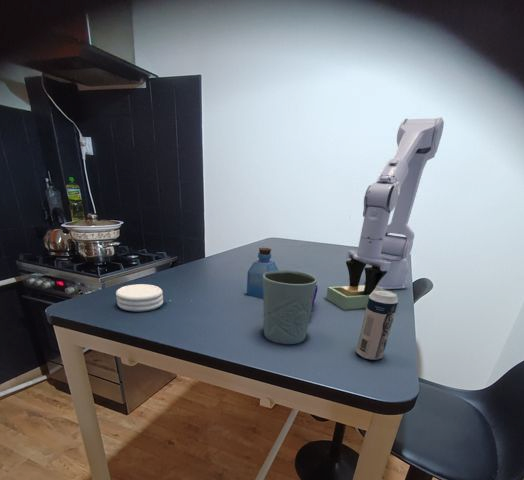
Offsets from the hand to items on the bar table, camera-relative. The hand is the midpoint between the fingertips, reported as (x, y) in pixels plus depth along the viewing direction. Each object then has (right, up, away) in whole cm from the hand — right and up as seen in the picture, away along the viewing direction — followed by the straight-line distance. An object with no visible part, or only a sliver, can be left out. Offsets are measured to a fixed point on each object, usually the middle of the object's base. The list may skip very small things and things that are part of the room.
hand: (360, 291), depth 85 cm
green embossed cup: (-22, -13, -20) cm, 32 cm away
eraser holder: (0, -3, +1) cm, 3 cm away
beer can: (-6, -17, -26) cm, 31 cm away
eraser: (0, -2, +1) cm, 3 cm away
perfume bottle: (-26, -1, +2) cm, 27 cm away
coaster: (-55, -5, -11) cm, 56 cm away
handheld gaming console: (-19, -6, -7) cm, 21 cm away
